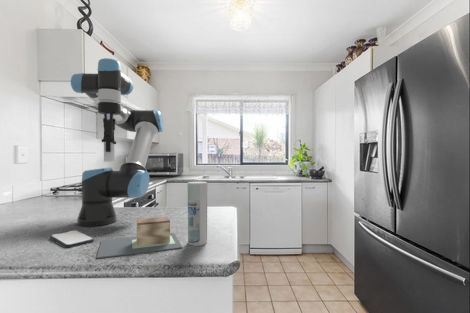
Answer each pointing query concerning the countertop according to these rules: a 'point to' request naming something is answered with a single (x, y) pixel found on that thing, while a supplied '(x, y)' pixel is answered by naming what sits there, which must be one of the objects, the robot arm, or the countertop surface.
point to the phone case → (71, 238)
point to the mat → (133, 247)
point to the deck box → (153, 231)
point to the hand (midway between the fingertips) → (109, 161)
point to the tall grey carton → (197, 213)
